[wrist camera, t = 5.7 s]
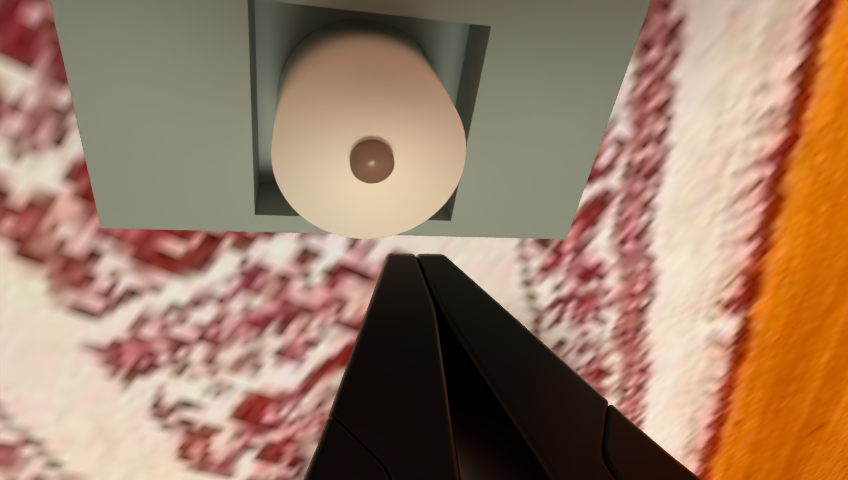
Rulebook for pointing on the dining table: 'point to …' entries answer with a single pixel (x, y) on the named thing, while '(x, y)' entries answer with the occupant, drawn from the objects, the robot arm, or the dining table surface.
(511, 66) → the board
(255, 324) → the dining table surface
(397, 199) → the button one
